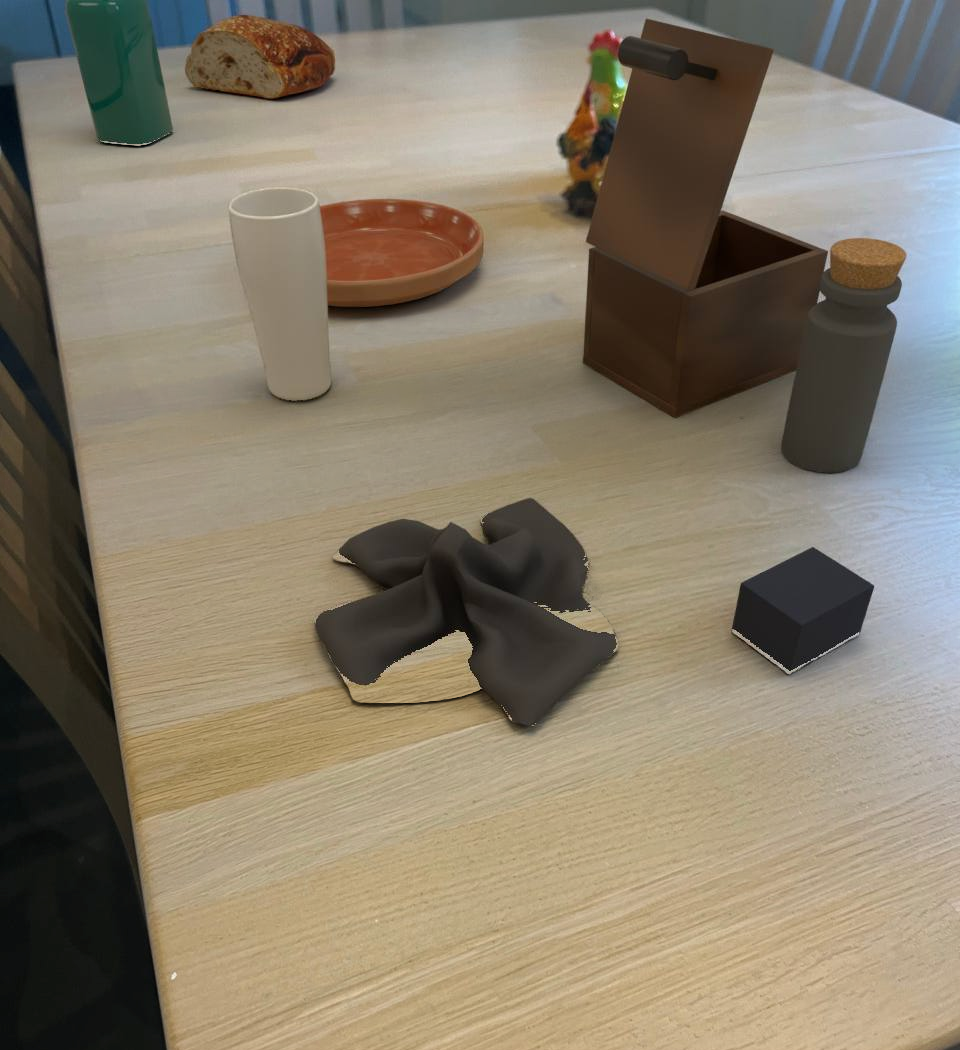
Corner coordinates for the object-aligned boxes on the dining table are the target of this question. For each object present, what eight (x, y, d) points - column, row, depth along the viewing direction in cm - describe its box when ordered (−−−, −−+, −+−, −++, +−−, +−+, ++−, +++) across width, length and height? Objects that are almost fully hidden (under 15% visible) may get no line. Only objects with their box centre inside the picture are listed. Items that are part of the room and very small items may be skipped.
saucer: (212, 300, 98) (204, 262, 95) (324, 221, 113) (320, 186, 111) (429, 335, 91) (426, 296, 89) (516, 246, 107) (516, 210, 104)
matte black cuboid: (800, 595, 63) (813, 546, 60) (859, 635, 60) (875, 585, 57) (730, 632, 60) (740, 582, 58) (788, 676, 57) (801, 625, 55)
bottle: (877, 466, 74) (935, 261, 64) (805, 479, 72) (853, 273, 62) (834, 427, 78) (882, 229, 68) (765, 439, 77) (804, 240, 67)
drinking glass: (298, 362, 87) (272, 180, 78) (358, 382, 84) (338, 196, 75) (242, 393, 83) (206, 206, 73) (302, 416, 80) (274, 224, 70)
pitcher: (145, 149, 135) (102, -49, 120) (92, 144, 137) (42, -51, 122) (184, 128, 142) (147, -61, 127) (132, 124, 144) (90, -63, 129)
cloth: (620, 738, 54) (630, 653, 50) (280, 720, 55) (262, 636, 51) (616, 503, 71) (622, 425, 66) (353, 494, 72) (344, 416, 68)
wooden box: (707, 319, 93) (722, 209, 86) (803, 367, 85) (828, 250, 79) (582, 363, 87) (588, 248, 80) (674, 418, 79) (690, 296, 73)
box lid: (653, 20, 72) (596, 3, 69) (774, 49, 65) (717, 31, 62) (592, 242, 80) (538, 237, 77) (694, 290, 73) (639, 286, 69)
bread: (184, 89, 158) (170, 15, 152) (266, 65, 169) (256, -5, 163) (280, 107, 149) (270, 30, 143) (360, 80, 160) (353, 7, 154)
